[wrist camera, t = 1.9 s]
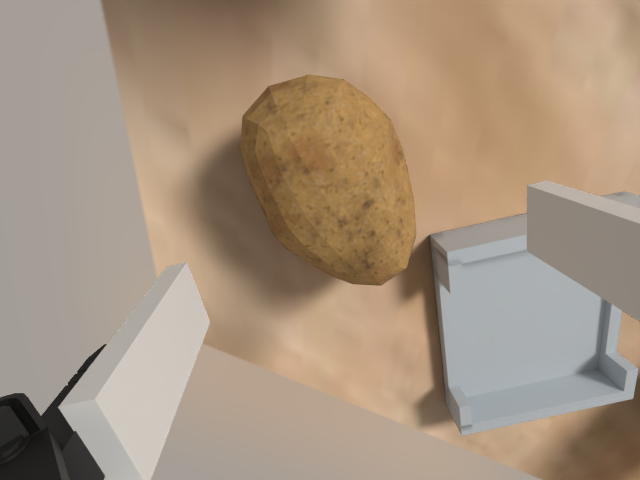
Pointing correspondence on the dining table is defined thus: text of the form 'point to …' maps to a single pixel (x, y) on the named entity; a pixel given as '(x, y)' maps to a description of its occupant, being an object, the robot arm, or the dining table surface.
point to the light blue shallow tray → (521, 330)
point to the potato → (331, 178)
